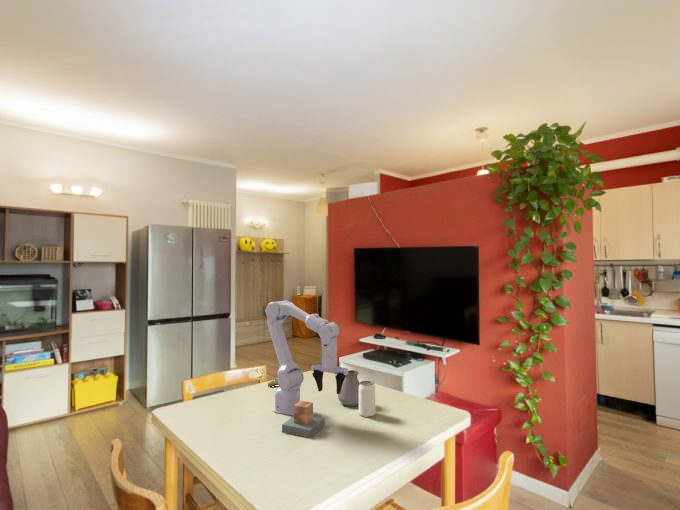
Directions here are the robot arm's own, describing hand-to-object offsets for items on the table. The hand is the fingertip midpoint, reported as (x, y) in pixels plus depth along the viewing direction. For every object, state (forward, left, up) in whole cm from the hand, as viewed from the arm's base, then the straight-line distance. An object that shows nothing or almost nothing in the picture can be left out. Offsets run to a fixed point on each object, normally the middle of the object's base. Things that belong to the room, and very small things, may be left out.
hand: (329, 392), depth 137 cm
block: (-6, -10, -8) cm, 14 cm away
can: (+11, +11, -11) cm, 19 cm away
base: (-6, -10, -10) cm, 15 cm away
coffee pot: (-4, +20, -11) cm, 23 cm away
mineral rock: (-42, +28, -11) cm, 52 cm away
